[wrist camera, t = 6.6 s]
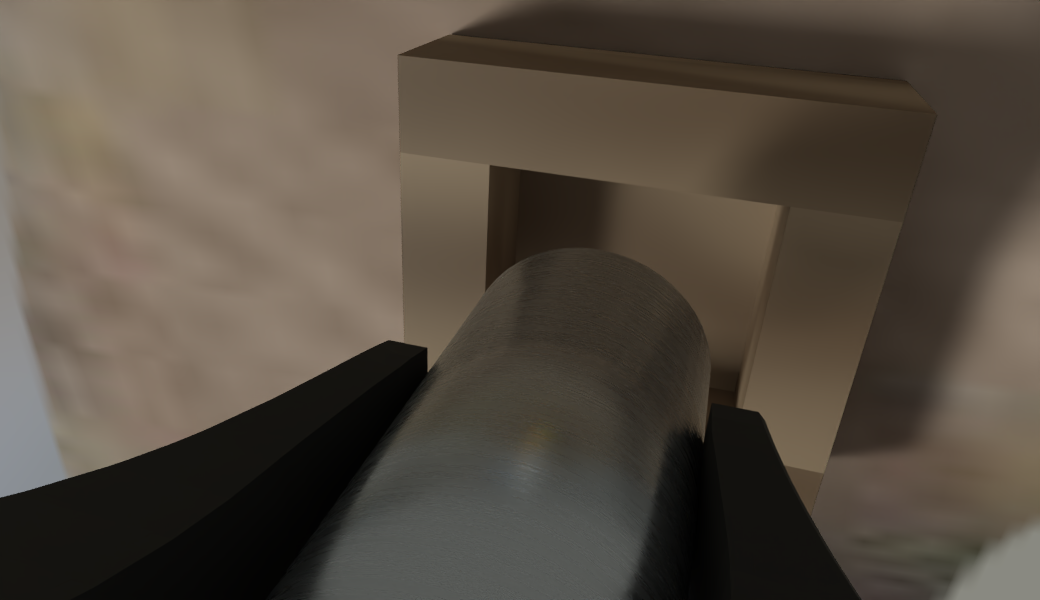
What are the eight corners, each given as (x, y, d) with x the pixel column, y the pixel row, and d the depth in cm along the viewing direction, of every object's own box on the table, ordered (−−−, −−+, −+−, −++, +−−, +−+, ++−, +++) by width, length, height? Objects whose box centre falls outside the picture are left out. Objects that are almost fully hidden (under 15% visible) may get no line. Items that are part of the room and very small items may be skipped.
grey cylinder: (689, 479, 13) (615, 1123, 6) (468, 432, 14) (185, 947, 7) (731, 270, 11) (693, 856, 4) (473, 229, 12) (88, 662, 5)
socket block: (796, 459, 20) (803, 539, 18) (446, 387, 22) (406, 448, 20) (906, 80, 15) (937, 114, 13) (449, 34, 18) (397, 55, 15)
